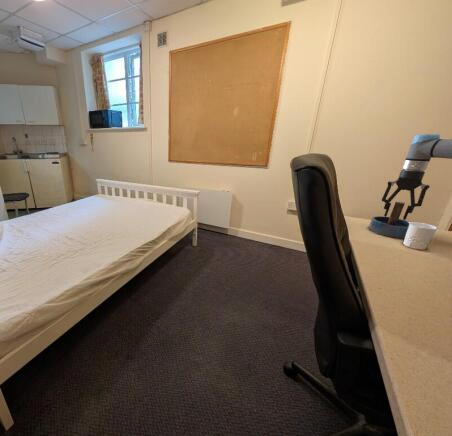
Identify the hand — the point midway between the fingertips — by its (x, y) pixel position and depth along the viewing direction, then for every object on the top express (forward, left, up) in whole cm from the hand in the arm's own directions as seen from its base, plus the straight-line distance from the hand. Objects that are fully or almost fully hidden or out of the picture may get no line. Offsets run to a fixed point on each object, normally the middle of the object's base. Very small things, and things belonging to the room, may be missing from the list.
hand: (394, 217), depth 108 cm
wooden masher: (0, 0, -8) cm, 8 cm away
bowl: (0, 0, -8) cm, 8 cm away
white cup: (-8, +13, -8) cm, 17 cm away
